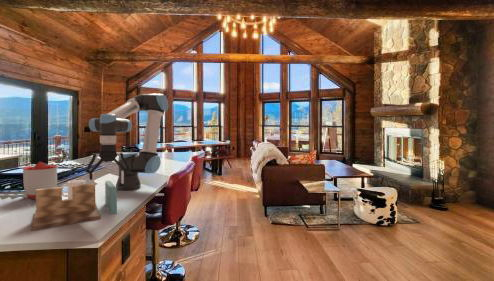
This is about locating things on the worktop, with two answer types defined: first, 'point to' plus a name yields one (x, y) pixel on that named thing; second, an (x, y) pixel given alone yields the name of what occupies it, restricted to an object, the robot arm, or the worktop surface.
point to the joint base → (65, 219)
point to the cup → (70, 184)
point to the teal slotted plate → (111, 197)
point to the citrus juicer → (39, 178)
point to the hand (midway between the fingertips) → (108, 184)
